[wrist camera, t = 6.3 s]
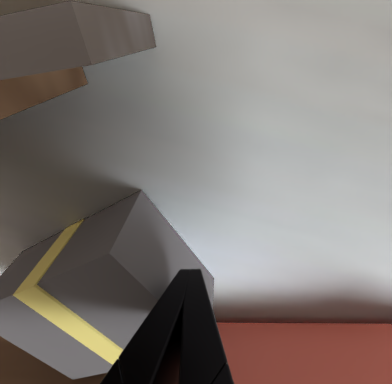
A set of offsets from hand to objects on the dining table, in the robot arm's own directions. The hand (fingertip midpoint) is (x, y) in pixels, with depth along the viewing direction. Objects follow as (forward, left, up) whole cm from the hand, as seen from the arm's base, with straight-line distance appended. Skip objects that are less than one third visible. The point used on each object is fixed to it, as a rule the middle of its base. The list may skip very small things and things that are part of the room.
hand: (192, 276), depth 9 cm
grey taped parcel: (-2, +5, -3) cm, 6 cm away
